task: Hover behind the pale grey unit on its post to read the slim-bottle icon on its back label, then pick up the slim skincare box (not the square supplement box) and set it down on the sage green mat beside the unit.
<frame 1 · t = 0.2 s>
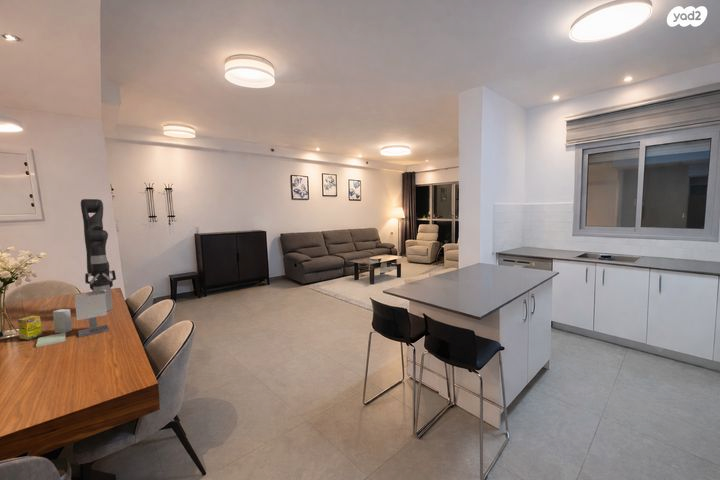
hand: (101, 288, 185), 18 cm above the table, tool pointing down, fingers open, 8 cm apart
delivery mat: (51, 340, 152), on the table
skincare box: (63, 331, 164), on the table
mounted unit: (93, 331, 163), on the table
supplement box: (31, 338, 156), on the table
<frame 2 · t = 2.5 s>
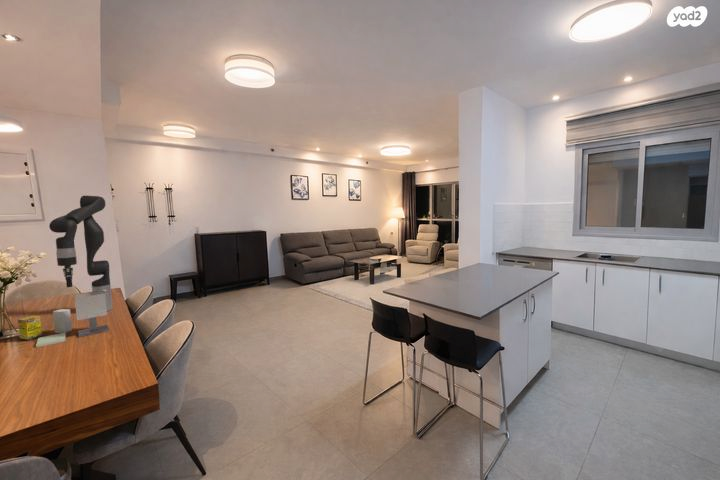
hand: (69, 285, 164), 25 cm above the table, tool pointing down, fingers open, 8 cm apart
nothing on the table moved.
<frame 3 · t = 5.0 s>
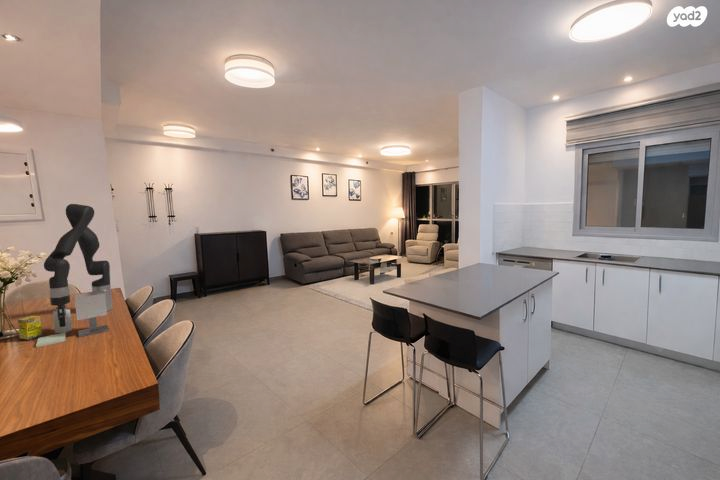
hand: (63, 324, 163), 4 cm above the table, tool pointing down, fingers closed on skincare box, 7 cm apart
skincare box: (63, 331, 164), on the table, touching gripper
everything else where it was.
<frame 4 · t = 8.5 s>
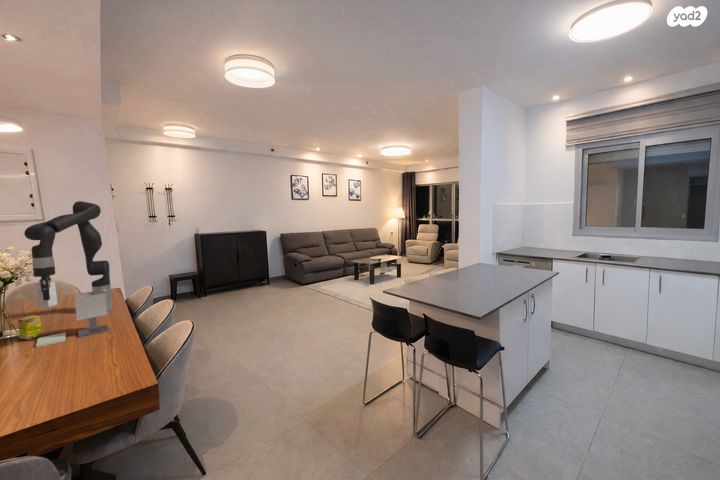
hand: (47, 298, 150), 22 cm above the table, tool pointing down, fingers closed on skincare box, 7 cm apart
skincare box: (48, 306, 151), point 18 cm above the table, touching gripper
everything else where it was.
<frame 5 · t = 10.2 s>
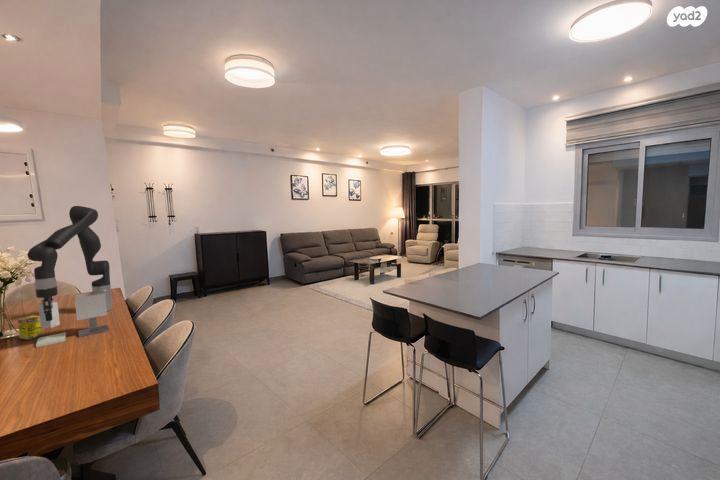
hand: (49, 318, 151), 12 cm above the table, tool pointing down, fingers closed on skincare box, 7 cm apart
skincare box: (50, 326, 152), point 7 cm above the table, touching gripper
everything else where it was.
when the fingers open (6 cm above the table, at t = 11.9 s): skincare box drops 1 cm, resting on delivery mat.
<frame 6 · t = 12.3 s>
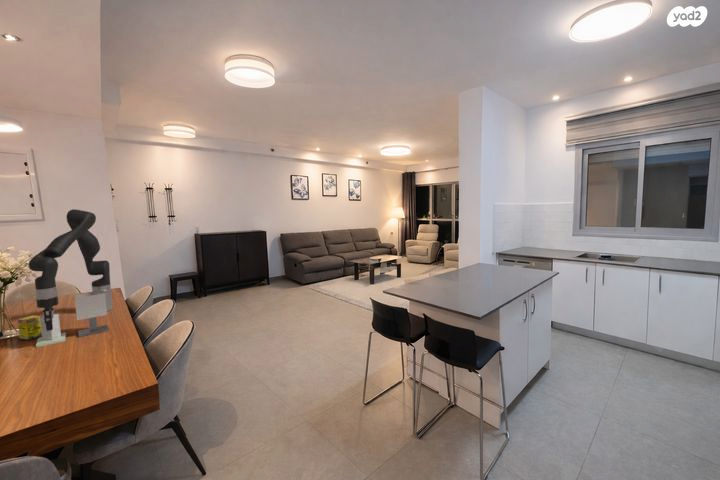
hand: (50, 327, 152), 7 cm above the table, tool pointing down, fingers open, 8 cm apart
skincare box: (51, 338, 153), point 1 cm above the table, touching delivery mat
everything else where it was.
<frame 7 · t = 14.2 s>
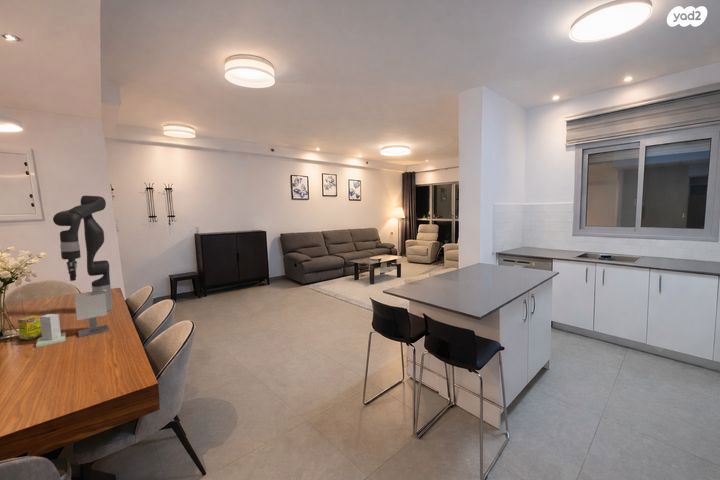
hand: (73, 278, 164), 29 cm above the table, tool pointing down, fingers open, 8 cm apart
nothing on the table moved.
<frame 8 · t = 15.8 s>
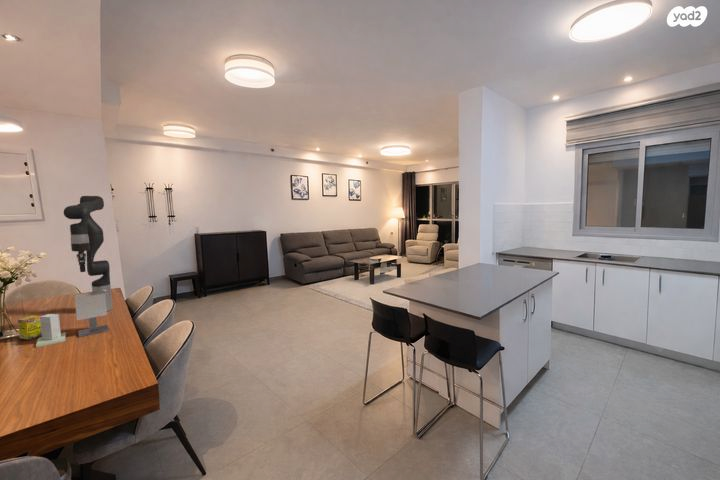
hand: (82, 270, 169), 32 cm above the table, tool pointing down, fingers open, 8 cm apart
nothing on the table moved.
at the end: skincare box inside the target area on the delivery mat (0.4 cm from its centre), point 1.0 cm above the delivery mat's base; skincare box tilted 0°; the gripper is holding nothing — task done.
